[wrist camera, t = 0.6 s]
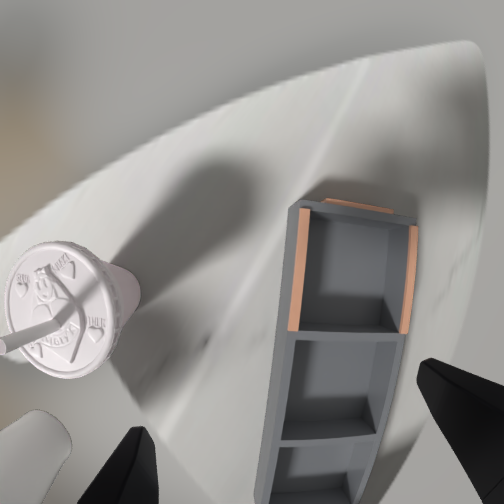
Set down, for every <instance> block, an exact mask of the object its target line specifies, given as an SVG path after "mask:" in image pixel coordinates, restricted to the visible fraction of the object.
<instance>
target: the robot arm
mask: <svg viewBox="0 0 504 504" xmlns="http://www.w3.org/2000/svg"><path fill="white" fill-rule="evenodd" d="M417 385H418V387H419V389H420V391H421V393H422V395H423V397H424V399H425V402H426V404H427V406H428V408H429V410H430V412H431V414H432V416H433V418H434V420H435V421H436V423H437V425H438V426H439V428H440V430H441V431H442V433H443V434H444V436H445V438H446V439H447V441H448V443H449V444H450V446H451V448H452V449H453V451H454V453H455V454H456V456H457V458H458V460H459V461H460V463H461V465H462V466H463V468H464V470H465V472H466V473H467V475H468V477H469V479H470V480H471V482H472V484H473V486H474V488H475V489H476V491H477V493H478V495H479V497H480V499H481V500H482V503H483V504H504V386H503V385H500V384H497V383H495V382H492V381H490V380H487V379H484V378H482V377H479V376H477V375H474V374H472V373H469V372H466V371H464V370H461V369H459V368H456V367H454V366H451V365H449V364H446V363H444V362H441V361H439V360H436V359H434V358H428V359H426V360H424V361H422V362H421V363H420V366H419V370H418V374H417ZM77 504H159V487H158V476H157V465H156V453H155V445H154V442H153V440H152V438H151V437H150V435H149V433H148V431H147V430H146V428H145V427H143V426H139V427H132V428H130V430H129V431H128V432H127V434H126V435H125V437H124V438H123V439H122V441H121V442H120V444H119V445H118V446H117V448H116V449H115V450H114V452H113V453H112V455H111V456H110V457H109V459H108V460H107V462H106V463H105V465H104V466H103V467H102V469H101V470H100V471H99V473H98V474H97V476H96V477H95V478H94V480H93V481H92V482H91V484H90V485H89V487H88V488H87V489H86V491H85V492H84V494H83V495H82V496H81V498H80V499H79V500H78V502H77Z"/></svg>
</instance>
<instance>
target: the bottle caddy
mask: <svg viewBox="0 0 504 504" xmlns="http://www.w3.org/2000/svg"><path fill="white" fill-rule="evenodd" d="M393 211H394V209H388V208H383V207H378V206H372V205H366V204H361V203H355V202H349V201H343V200H337V199H330V198H326V199H324V200H322V201H321V202H316V201H309V200H302V199H300V200H299V201H297V202H296V203H295V204H293V205H292V206H291V207H289V208H288V219H287V230H286V241H285V252H284V262H283V272H282V282H281V291H280V300H279V310H278V319H277V327H276V336H275V344H274V353H273V361H272V369H271V377H270V385H269V392H268V400H267V407H266V415H265V422H264V429H263V436H262V443H261V450H260V456H259V463H258V469H257V476H256V482H255V488H254V499H255V504H359V502H360V500H361V497H362V494H363V492H364V489H365V487H366V484H367V481H368V478H369V476H370V473H371V470H372V467H373V464H374V461H375V458H376V455H377V452H378V449H379V446H380V442H381V439H382V436H383V432H384V429H385V425H386V422H387V418H388V414H389V410H390V406H391V402H392V398H393V394H394V390H395V385H396V381H397V376H398V372H399V367H400V362H401V356H402V351H403V345H404V340H405V334H408V329H409V323H410V316H411V308H412V300H413V292H414V282H415V272H416V259H417V244H418V226H416V218H411V217H406V216H400V215H395V214H393Z"/></svg>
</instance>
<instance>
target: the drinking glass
mask: <svg viewBox="0 0 504 504" xmlns="http://www.w3.org/2000/svg"><path fill="white" fill-rule="evenodd" d="M71 451H72V441H71V438H70V435H69V433H68V431H67V430H66V428H65V427H64V426H63V424H62V423H61V422H60V421H59V420H58V419H57V418H55V417H54V416H53V415H51V414H49V413H48V412H45V411H42V410H31V411H28V412H27V413H25V414H24V415H23V416H22V417H20V418H19V419H18V420H16V421H15V422H13V423H11V424H10V425H8V426H6V427H5V428H3V429H1V430H0V504H42V503H43V501H44V499H45V497H46V495H47V493H48V491H49V490H50V488H51V486H52V484H53V482H54V480H55V478H56V476H57V475H58V473H59V471H60V469H61V467H62V466H63V464H64V463H65V461H66V460H67V459H68V457H69V456H70V454H71Z"/></svg>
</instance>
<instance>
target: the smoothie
mask: <svg viewBox="0 0 504 504" xmlns="http://www.w3.org/2000/svg"><path fill="white" fill-rule="evenodd" d="M140 299H141V289H140V285H139V282H138V280H137V279H136V277H135V276H134V275H133V274H132V273H131V272H130V271H128V270H126V269H124V268H121V267H119V266H116V265H113V264H110V263H107V262H105V261H102V260H100V259H99V258H98V257H97V256H95V255H94V254H93V253H92V252H90V251H89V250H88V249H87V248H85V247H82V246H80V245H78V244H75V243H73V242H66V241H54V242H51V241H50V242H43V243H40V244H37V245H35V246H33V247H31V248H29V249H28V250H26V251H25V252H24V253H23V254H22V255H21V256H20V257H19V258H18V259H17V261H16V262H15V264H14V265H13V267H12V269H11V271H10V273H9V276H8V279H7V283H6V288H5V296H4V306H5V315H6V320H7V324H8V327H9V330H10V333H11V334H9V335H6V336H3V337H1V338H0V354H1V355H3V354H6V353H8V352H10V351H12V350H15V349H17V348H19V350H20V351H21V352H22V354H23V355H24V356H25V357H26V358H27V360H28V361H30V362H31V363H32V364H33V365H34V366H35V367H37V368H38V369H40V370H41V371H43V372H45V373H46V374H49V375H51V376H54V377H58V378H65V379H73V378H79V377H82V376H85V375H87V374H89V373H91V372H92V371H94V370H95V369H97V368H98V367H100V366H101V365H102V364H103V363H104V362H105V361H107V360H108V359H109V358H110V356H111V354H112V353H113V351H114V349H115V348H116V346H117V344H118V340H119V336H120V333H121V329H122V328H123V327H124V325H125V324H126V322H127V321H128V320H129V318H130V317H131V315H132V314H133V313H134V311H135V310H136V309H137V307H138V305H139V303H140Z"/></svg>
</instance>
